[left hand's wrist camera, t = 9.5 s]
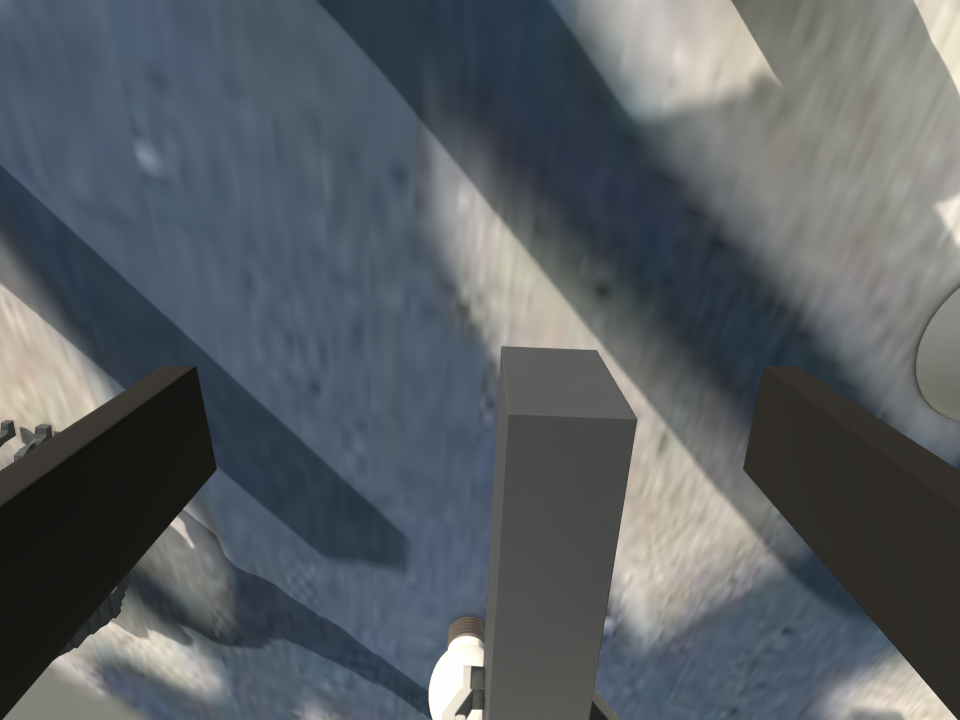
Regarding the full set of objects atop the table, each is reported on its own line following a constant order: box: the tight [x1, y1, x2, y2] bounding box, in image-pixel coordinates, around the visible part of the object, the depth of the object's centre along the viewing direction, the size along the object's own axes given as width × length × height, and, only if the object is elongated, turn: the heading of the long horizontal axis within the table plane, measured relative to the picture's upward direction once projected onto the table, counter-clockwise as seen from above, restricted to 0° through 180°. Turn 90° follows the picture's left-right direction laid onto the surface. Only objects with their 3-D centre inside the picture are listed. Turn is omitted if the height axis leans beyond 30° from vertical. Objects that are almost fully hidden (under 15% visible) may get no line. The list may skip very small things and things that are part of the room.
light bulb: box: [429, 617, 485, 720], centre depth 50 cm, size 7×7×11 cm
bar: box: [482, 346, 637, 720], centre depth 29 cm, size 25×5×8 cm, turn 178°
